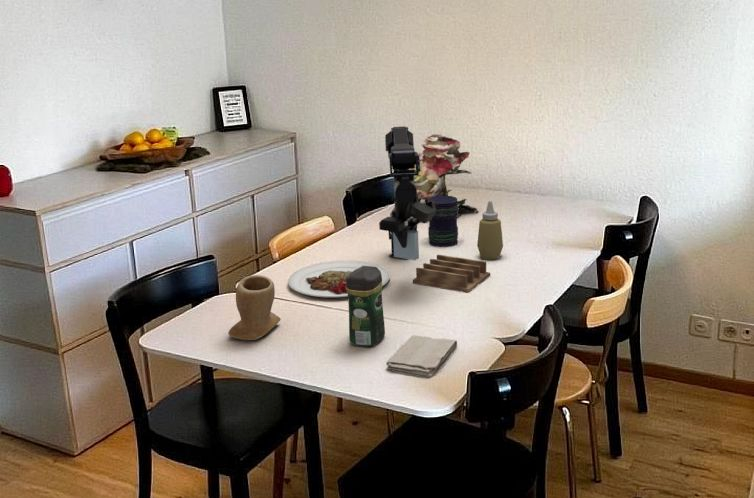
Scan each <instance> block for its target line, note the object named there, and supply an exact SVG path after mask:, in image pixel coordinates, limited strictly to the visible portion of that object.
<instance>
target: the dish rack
mask: <svg viewBox="0 0 754 498" xmlns="http://www.w3.org/2000/svg"><path fill="white" fill-rule="evenodd" d="M422 267H423V268H422ZM422 267H416V268H415V273H416V274H415V275H416V276H415V278H413V279H412V281H411V282H412V284H415V285H421V286H427V287H432V288H433V287H434V288H439V289H446V290H449V291H456V292H461V291H462V292H463V293H467V292H469V293H471V292H472V291H473V290H474V289H475V288H477V287H478V286H479V285H481V284H482V283H483V282H484V281H486V280H487V279H488V278H490V277H491V272H489V271H487V261H484V260H478V259H472V258H464V257H458V256H451V255H443V254H436V259H434V258H430V259H429V263H426V262H423V264H422ZM489 276H490V277H489ZM485 279H486V280H485ZM481 282H482V283H481ZM478 284H479V285H478ZM477 285H478V286H477ZM476 286H477V287H476ZM473 288H474V289H473ZM472 289H473V290H472Z"/></svg>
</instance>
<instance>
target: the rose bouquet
mask: <svg viewBox="0 0 754 498" xmlns="http://www.w3.org/2000/svg"><path fill="white" fill-rule="evenodd" d="M423 142H424V143H422V144H421V146H422V148H423V149H424V150H423V151H422V152H417V153H418V155H419V158H420V172H419V176H414V183H415V186H416V190H417V196H418V197H419V202H422V201H424V203H425V204H426V203H427V202H428V199H429V198H431V197H434V196H449V193H450V192H451V191H452V189H448V187H447V185H446V176H449V175H460V174H467V175H468V174H469V175H471V174H472V171H468V170H466V169H465V170H464V169H459V168H460V167H461V164H462V163H463V162H465V160H466V159H468V158H470V152H469V151H462V152H460V150H459V149H460V148H461V141H459V140H457V139H454V138H451V137H447V136H446V135H441V134H436V133H434V134H431V135H430V136H427V137H425V138H424V139H423ZM409 170H411V169H409ZM415 171H416V166H415ZM447 189H448V190H447ZM466 201H467V198H462V199H461V200H457V206H458V210H459V209H462V210H465V211H473V213H474V214H476V213H478V212H479V211H478V208H476V207H474V206H471V205H467V204H466ZM465 204H466V205H465ZM462 215H463V214H460V213H458V215H457V218H459V217H462Z"/></svg>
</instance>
